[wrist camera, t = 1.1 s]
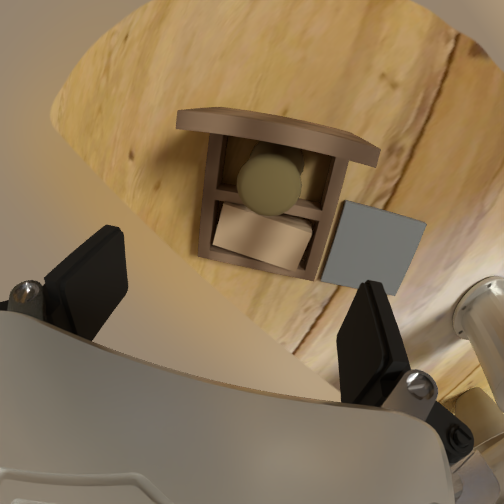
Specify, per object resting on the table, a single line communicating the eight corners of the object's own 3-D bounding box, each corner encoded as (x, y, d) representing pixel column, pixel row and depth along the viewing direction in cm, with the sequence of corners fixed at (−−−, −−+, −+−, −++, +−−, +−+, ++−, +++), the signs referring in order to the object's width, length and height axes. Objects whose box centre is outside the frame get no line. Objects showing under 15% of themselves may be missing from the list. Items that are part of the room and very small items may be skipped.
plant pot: (475, 408, 50) (489, 456, 36) (432, 416, 52) (443, 470, 38) (504, 372, 43) (525, 424, 29) (460, 380, 45) (479, 441, 31)
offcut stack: (310, 220, 34) (312, 233, 31) (295, 256, 37) (295, 272, 34) (230, 193, 34) (223, 203, 31) (220, 231, 37) (212, 244, 33)
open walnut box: (350, 132, 28) (380, 149, 18) (313, 270, 37) (316, 337, 26) (219, 106, 29) (177, 110, 18) (203, 247, 38) (169, 304, 27)
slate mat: (424, 222, 31) (426, 224, 31) (393, 293, 37) (394, 295, 36) (345, 199, 32) (345, 201, 31) (320, 278, 37) (320, 281, 37)
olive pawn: (314, 169, 31) (323, 200, 21) (271, 198, 33) (259, 240, 24) (282, 124, 29) (275, 134, 19) (238, 156, 31) (211, 182, 22)
